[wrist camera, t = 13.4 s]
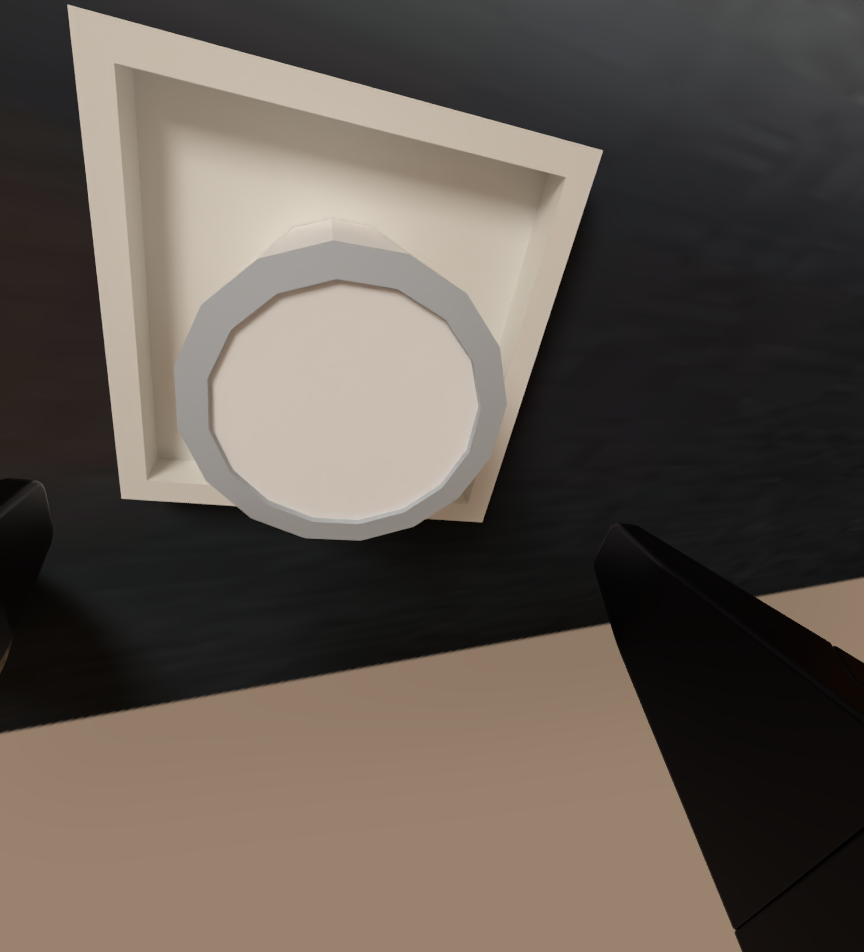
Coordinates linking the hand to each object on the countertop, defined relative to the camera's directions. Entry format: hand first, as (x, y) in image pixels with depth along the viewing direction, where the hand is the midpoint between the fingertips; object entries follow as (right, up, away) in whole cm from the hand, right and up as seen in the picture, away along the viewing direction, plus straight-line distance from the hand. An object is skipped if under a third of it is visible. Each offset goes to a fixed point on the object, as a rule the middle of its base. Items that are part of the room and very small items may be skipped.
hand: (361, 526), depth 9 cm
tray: (-2, +6, +9) cm, 11 cm away
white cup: (-2, +6, +8) cm, 10 cm away
